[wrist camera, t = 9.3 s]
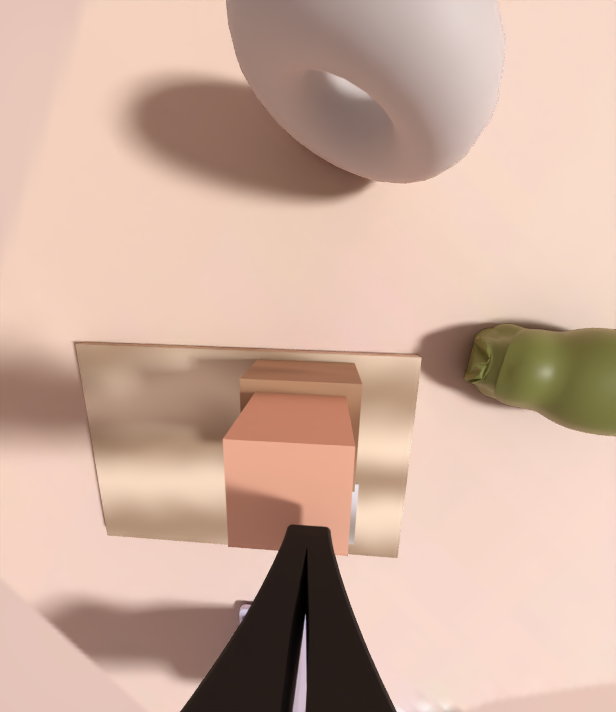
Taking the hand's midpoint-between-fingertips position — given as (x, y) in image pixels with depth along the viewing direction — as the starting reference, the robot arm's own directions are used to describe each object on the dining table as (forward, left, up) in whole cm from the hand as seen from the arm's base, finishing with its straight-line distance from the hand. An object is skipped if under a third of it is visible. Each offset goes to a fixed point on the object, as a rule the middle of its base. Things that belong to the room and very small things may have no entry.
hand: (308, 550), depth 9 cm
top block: (+1, +1, -5) cm, 6 cm away
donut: (+16, -1, -10) cm, 19 cm away
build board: (-3, +5, -10) cm, 12 cm away
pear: (+4, -13, -11) cm, 18 cm away
